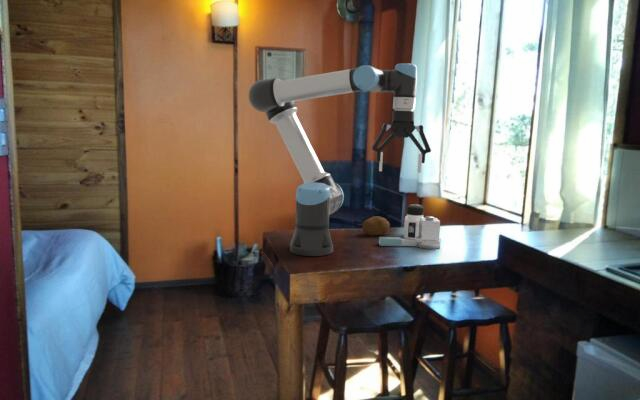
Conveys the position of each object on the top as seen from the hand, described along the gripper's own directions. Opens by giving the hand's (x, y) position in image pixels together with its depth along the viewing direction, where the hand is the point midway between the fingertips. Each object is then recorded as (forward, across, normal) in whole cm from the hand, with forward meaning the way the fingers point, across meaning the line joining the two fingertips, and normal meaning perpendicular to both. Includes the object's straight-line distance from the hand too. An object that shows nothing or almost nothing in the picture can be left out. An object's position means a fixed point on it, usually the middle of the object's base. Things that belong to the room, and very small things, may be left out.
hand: (399, 171), depth 181 cm
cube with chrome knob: (+25, +13, +7) cm, 30 cm away
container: (+29, +10, +21) cm, 37 cm away
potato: (+29, -4, +24) cm, 38 cm away
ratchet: (+28, +7, +7) cm, 30 cm away
